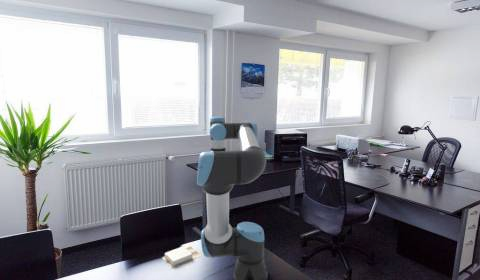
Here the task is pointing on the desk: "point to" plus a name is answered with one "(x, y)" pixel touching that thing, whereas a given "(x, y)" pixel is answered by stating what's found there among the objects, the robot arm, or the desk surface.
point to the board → (194, 256)
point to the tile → (178, 255)
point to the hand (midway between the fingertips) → (218, 191)
